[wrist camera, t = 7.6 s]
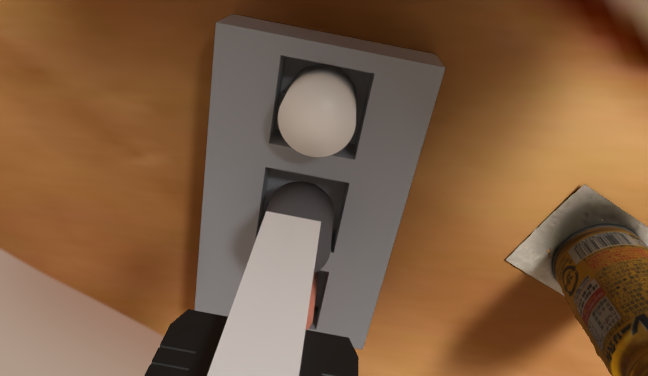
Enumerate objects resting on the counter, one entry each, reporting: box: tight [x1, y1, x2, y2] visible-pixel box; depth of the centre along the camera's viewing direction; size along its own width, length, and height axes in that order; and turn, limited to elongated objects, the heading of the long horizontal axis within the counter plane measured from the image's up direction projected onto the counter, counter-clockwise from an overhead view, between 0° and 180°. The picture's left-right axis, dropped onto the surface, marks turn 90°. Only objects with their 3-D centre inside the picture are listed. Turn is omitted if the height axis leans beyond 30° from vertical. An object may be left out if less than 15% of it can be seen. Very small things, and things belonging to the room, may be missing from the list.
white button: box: [278, 65, 356, 157], centre depth 26 cm, size 4×4×4 cm
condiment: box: [506, 184, 648, 376], centre depth 28 cm, size 7×8×12 cm
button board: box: [195, 14, 445, 349], centre depth 31 cm, size 20×12×4 cm, turn 170°
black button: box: [258, 181, 334, 273], centre depth 27 cm, size 4×4×4 cm
